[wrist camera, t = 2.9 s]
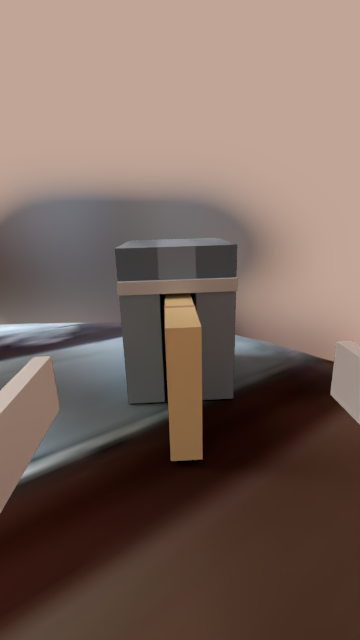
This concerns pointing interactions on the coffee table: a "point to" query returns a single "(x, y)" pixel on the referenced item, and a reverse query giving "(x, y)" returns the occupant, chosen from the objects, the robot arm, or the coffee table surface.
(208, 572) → the coffee table surface
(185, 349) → the taped cardboard box
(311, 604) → the coffee table surface
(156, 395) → the dispenser
